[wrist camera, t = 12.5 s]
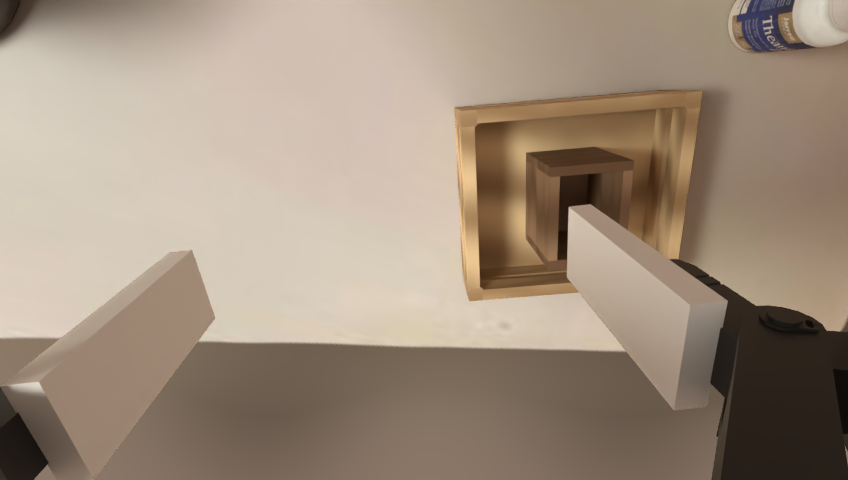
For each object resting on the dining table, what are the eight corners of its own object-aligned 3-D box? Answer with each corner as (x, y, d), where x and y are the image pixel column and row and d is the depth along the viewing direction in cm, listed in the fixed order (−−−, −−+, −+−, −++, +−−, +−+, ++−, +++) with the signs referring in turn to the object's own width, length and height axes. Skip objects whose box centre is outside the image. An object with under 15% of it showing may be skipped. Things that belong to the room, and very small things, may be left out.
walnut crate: (525, 152, 37) (550, 167, 30) (594, 146, 37) (634, 160, 30) (525, 238, 39) (547, 269, 33) (589, 233, 39) (624, 263, 33)
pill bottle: (711, 33, 34) (818, 15, 25) (756, -35, 33) (888, -80, 24) (760, 65, 35) (881, 59, 26) (806, 1, 34) (952, -30, 25)
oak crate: (454, 107, 36) (460, 110, 31) (665, 90, 36) (702, 91, 31) (462, 276, 42) (469, 301, 37) (645, 261, 41) (674, 284, 37)
